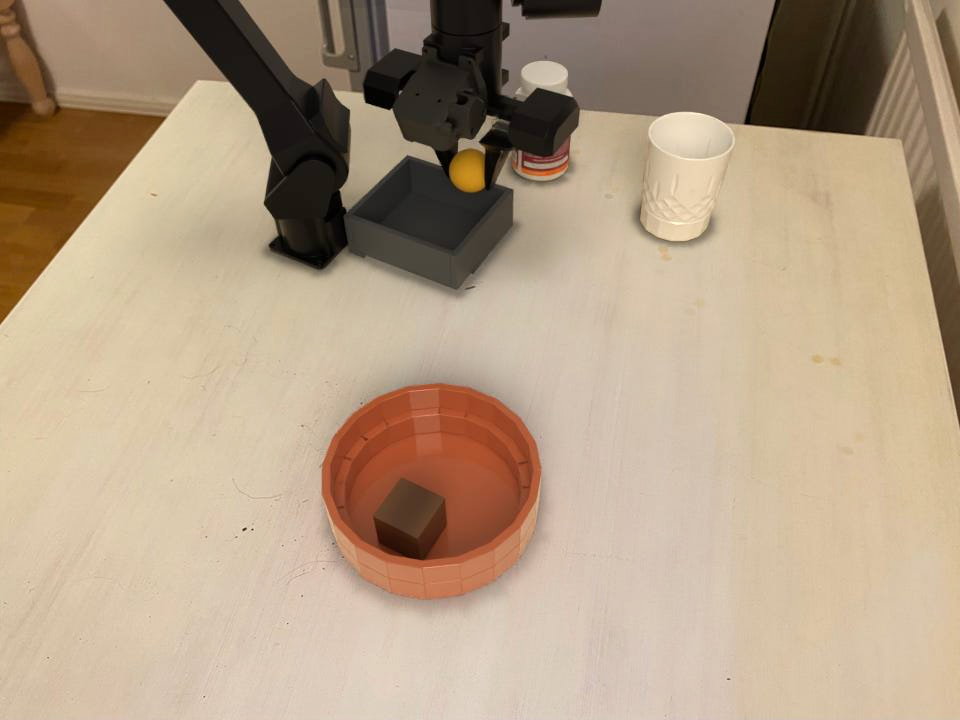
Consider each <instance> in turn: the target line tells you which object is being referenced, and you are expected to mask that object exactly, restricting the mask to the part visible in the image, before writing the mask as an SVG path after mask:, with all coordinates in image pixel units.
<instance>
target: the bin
mask: <svg viewBox="0 0 960 720" xmlns="http://www.w3.org/2000/svg"><path fill="white" fill-rule="evenodd" d="M343 217H344V223H345V229H346V235H347V241H348V245H347V247H348V252H349V253H351V254H353V255H356V256H359V257H361V258H363V259H364V258H366V257H369V258H372V259H374V260H377V261H380V262H382V263H385V264H387V265H390V266H393V267H395V268H398V269H401V270H403V271H405V272H409V273H411V274H414V275H416V276H419V277H422V278H424V279H427V280H429V281H432V282H435V283H436V284H440V285H442V286H444V287H445V286H446V287H447V288H450V289H453V290H455V291H457V290H458V289H459V288H461V286H462V285H463V284H464V282H465V281H466V280H467V279H468V277H470V275H471V274H472V275H474V273H476V271H477V270H478V269H479V267H480V266H481V265H482V264H483V262H484V261H485V260H486V259H487V258H488V256H489V255H490V254H491V253H492V252H493V250H494V249H495V248H496V247H497V246H498V244H499V243H500V242H501V241H502V239H504V237H505V236H506V234H508V232H509V231H510V230H511V229H512V227H514V225H513V224H514V223H513V221H514V189H513V188H510V187H507V186H505V185H501V184H498V183H495V185H494V186H493V187H492V189H491V190H490V191H488V190H486V189H485V188H483V189H482V190H480V191H478V192H474V193H468V192H464V191H461V190H460V189H458V188H457V187H456V186H455V185H454V184H453V182H452V181H451V178H449V177H447V176H446V175H445V172H444V170H443V168H442V166H441V164H440V165H439V164H438V163H437V164H436V163H434V162H431V161H428V160H425V159H422V158H418V157H415V156H412V155H409V154H407V155H405V156H404V157H403V158H402V159H401V160H400V161H399V162H397V164H396V165H395V166H393V168H392V169H391V170H389V172H388V173H386V174H385V175H384V176H383V177H382V178H381V179H380V180H379V181H378V182H377V183H376V184H375V185H374V186H373V187H371V189H370V190H369V191H368V192H366V193H365V194H364V195H363V196H362V197H361V198H360V199H359V200H358V201H357V202H356V203H355V204H354V205H353V206H351V208H349V210H348V211H347V213H346V214H345V215H344V216H343Z"/></svg>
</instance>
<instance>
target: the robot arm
mask: <svg viewBox="0 0 960 720" xmlns="http://www.w3.org/2000/svg"><path fill="white" fill-rule="evenodd" d="M162 1H163V3H164V4H165V5H166V6H167V8H168V9H169V10H170V11H171V13H172V14H173V15H174V16H175V17H176V19H177V20H178V21H179V22H180V24H181V25H182V27H184V28H185V30H186V31H187V32H188V33H189V35H190V36H191V37H192V38H193V39H194V41H195V42H196V43H197V45H198V46H199V47H200V48H201V49H202V51H203V52H204V53H205V54H206V56H208V58H209V59H210V60H211V62H212V63H213V64H214V65H215V67H216V68H217V69H218V71H220V73H221V74H222V75H223V76H224V77H225V79H226V80H227V81H228V83H229V84H230V85H231V86H232V88H233V89H234V90H235V92H237V94H238V95H239V96H240V97H241V98H242V100H243V101H244V102H245V104H246V105H247V106H248V107H249V109H251V111H252V113H254V115H255V117H256V120H257V121H258V124H259V128H260V130H261V132H262V135H263V138H264V141H265V143H266V146H267V149H268V152H269V155H270V156H271V158H270V164H269V169H268V175H267V181H266V188H265V192H264V194H265V195H264V200H263V206H264V207H265V208H266V210H267V212H268V213H269V214H270V215H271V217H272V218H273V220H274V225H275V227H276V232H277V236H276V237H275V238H274V239H273V240H271V241H270V243H269V244H268V249H269V251H270V252H273V253H275V254H277V255H279V256H283V257H286V258H288V259H290V260H293V261H296V262H298V263H300V264H303V265H306V266H308V267H311V268H313V269H316V270H324V268H326V266H328V265H329V264H330V263H331V262H332V261H333V260H334V259H335V258H336V257H337V256H338V255H339V254H340V253H341V252H342V251H343V250H344V249H345V248H346V247H348V241H347V235H346V229H345V223H344V217H343V216H344V215H345V214H346V213H347V212H348V211H347V208H346V206H344V204H343V199H342V192H341V190H340V189H342V188H343V187H344V186H345V184H346V183H347V181H348V179H349V176H350V175H349V174H350V162H351V146H352V127H351V122H350V121H351V109H350V108H348V107H347V106H346V105H344V104H343V103H342V102H341V101H340V100H339V99H338V97H337V96H336V94H335V92H334V90H333V88H332V86H331V84H330V82H329V81H328V80H327V79H326V78H325V77H324V78H323V77H322V78H321V79H320V80H319V81H317V82H316V83H315V84H314V85H313V84H311V83H308V82H307V81H305V80H303V79H301V78H300V77H298V76H297V75H296V74H295V73H293V71H292V70H291V69H290V67H289V66H288V65H287V64H286V61H284V60H283V58H282V56H281V55H280V54H279V52H278V51H277V50H276V48H275V47H274V46H273V45H272V43H271V42H270V40H269V39H268V38H267V37H266V35H265V33H264V32H263V30H262V29H261V28H260V27H259V26H258V24H257V23H256V22H255V20H254V19H253V17H252V16H251V15H250V13H249V12H248V11H247V9H246V8H245V6H244V5H243V4H242V2H241V1H240V0H162ZM602 4H603V0H510V5H511V7H512V8H519V7H520V13H521V17H524V19H525V20H526V21H535V20H536V21H537V20H557V19H558V20H561V19H582V18H597V17H598V16H600V12H601V8H602ZM429 12H430V14H429V15H430V30H431V33H430V34H429V35H427V36H426V37H425V38H423V40H422V46H421V54H418V53H415V52H411V51H408V50H407V51H406V50H404V49H400V48H396V47H394V48H393V49H392V50H391V51H389V52H388V53H387V54H385V55H384V56H383V57H382V58H380V59H379V60H378V61H377V62H376V63H375V64H373V65H372V66H370V67H369V68H368V69H367V70H366V71H365V72H364V74H363V77H362V80H361V88H362V97H363V100H364V101H363V102H364V104H366V105H370V106H373V107H376V108H380V109H383V110H385V111H391V110H392V113H393V116H394V117H395V120H396V123H397V125H398V128H399V130H400V133H401V135H402V138H403V139H404V140H405V141H406V142H410V143H417V144H420V145H424V146H426V147H430V148H432V149H433V151H434V154H435V156H436V158H437V161H438V163H439V164H440V166H442V168H443V170H444V172H445V175H446V176H447V177H449V178H450V175H449V167H450V163H451V161H452V159H453V157H454V156H455V155H456V154H457V153H458V152H459V141H460V140H461V139H465V140H469V141H474V139H476V137H477V136H478V134H479V132H480V130H481V129H482V127H483V125H484V124H485V122H486V119H488V120H490V121H491V122H490V124H491V128H490V129H489V130H488V131H487V132H486V133H485V134H484V135H483V137H481V138H480V139H479V141H478V143H479V145H481V146H482V147H484V154H485V168H484V182H485V189H486V190H488V191H490V190H491V189H492V187H493V186H494V185H495V184H497V181H498V179H499V176H500V175H501V172H502V170H503V168H504V166H505V164H506V162H507V159H508V157H509V155H510V153H511V152H512V151H513V150H514V149H517V150H520V151H523V152H526V153H530V154H533V155H536V156H539V157H543V158H546V157H551V156H553V155H554V154H555V153H556V152H557V151H558V150H559V148H560V147H561V146H562V145H563V144H564V142H565V141H566V140H567V139H568V138H569V136H570V135H571V136H572V134H573V133H574V132H575V131H576V130H577V128H578V127H579V126H580V114H581V108H580V106H579V103H578V101H577V100H576V99H575V97H574V96H573V97H571V96H567V95H564V94H560V93H556V92H553V91H549V90H546V89H542V88H538V87H537V88H536V89H535V90H534V91H533V92H532V93H531V94H530V95H529V96H528V97H527V96H524V95H520V94H515V93H511V94H508V95H507V94H503V93H502V90H503V89H502V88H503V87H504V86H505V85H506V84H507V83H508V82H509V81H510V70H509V69H505V68H503V42H504V41H505V40H506V39H507V38H509V36H510V34H511V33H510V30H511V24H510V23H509V22H506V21H503V0H429Z"/></svg>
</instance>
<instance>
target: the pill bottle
mask: <svg viewBox="0 0 960 720" xmlns="http://www.w3.org/2000/svg"><path fill="white" fill-rule="evenodd" d="M519 81H520V82H519V83H520V87H519V88H517V90H515V93H514V94H520V95H524V96H527V97H528V96H529V95H530V94H531V93H532V92H533V91H534V90H535V89H536V88H537V87H538V88H542V89H546V90H549V91H553V92H556V93H560V94H564V95H567V96H571V97H574V96H573V94H572V92H571V90H570V89H569V88H568V84H569V72H568V69H567V68H566V67H565V66H564V65H562V64H561V63H558V62H555V61H550V60H539V61H538V60H537V61H533V62H530V63H528V64H526V65H524V66H523V67H522V69H521V71H520V79H519ZM571 138H572V134H571V135H570V136H569V138H568V139H567V140H566V141H565V142H564V144H563V145H562V146H561V147H560V148H559V150H558V151H557V152H556V153H555V154H554V155H553V156H551V157H546V158H543V157H539V156H536V155H533V154H530V153H526V152H523V151H520V150H517V149H514V150H513V151H511V165H512V168H513V170H514V171H515V173H517V174H518V175H519V176H521V177H522V178H525V179H527V180H532V181H536V182H540V181H541V182H546V181H547V182H548V181H552V180H555V179H557V178H559V177H561V176H562V175H564V174H565V172H566V171H568V167H569V163H570V162H569V161H570V149H571V140H572V139H571Z"/></svg>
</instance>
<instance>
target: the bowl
mask: <svg viewBox="0 0 960 720" xmlns="http://www.w3.org/2000/svg"><path fill="white" fill-rule="evenodd" d="M542 470H543V469H542V465H541V459H540V455H539V450H538V445H537V441H536V440H535V438H534V436H533V435H532V433H531V432H530V431H529V429H528V427H527V426H526V424H525V422H524V421H523V419H522V418H521V417H520V416H519V415H518V414H516V413H515V412H514V411H513V410H511V409H510V408H509V407H508V406H507V405H505V403H503V402H502V401H501V400H499V399H498V398H496V397H493V396H491V395H489V394H486V393H483V392H481V391H479V390H477V389H475V388H472V387H469V386H463V385H456V384H448V383H442V382H436V383H425V384H415V385H408V386H404V387H401V388H398V389H395V390H392V391H390V392H386V393H383V394H381V395H378V396H376V397H374V398H373V399H371V400H370V401H369V402H367V403H366V404H364V405H362V406H361V407H360V408H358V409H357V410H356V411H354V412H353V413H351V415H350V416H349V417H348V418H347V419H346V420H345V422H344V423H343V424H342V426H341V427H340V428H339V429H338V430H337V431H336V433H335V434H334V435H333V436H332V438H331V441H330V443H329V446H328V448H327V451H326V453H325V456H324V459H323V461H322V464H321V498H322V501H323V504H324V508H325V512H326V514H327V517H328V522H329V525H330V529H331V531H332V534H333V536H334V538H335V541H336V544H337V546H338V549H339V551H340V554H341V556H342V557H343V558H344V559H345V560H346V561H347V562H348V563H349V564H350V565H351V566H352V568H353V569H354V570H355V571H356V572H357V573H358V574H359V575H360V577H362V578H363V579H365V581H367V582H370V583H372V584H374V585H375V586H377V587H379V588H381V589H382V590H384V591H387V592H388V593H391V594H393V595H398V596H405V597H410V598H415V599H421V600H425V601H426V600H433V599H443V598H451V597H460V596H462V595H463V596H464V595H466V594H468V593H470V592H473V591H475V590H477V589H479V588H481V587H484V586H486V585H489V584H491V583H493V582H495V581H496V580H497V579H498V578H499V577H501V576H502V575H503V574H505V572H506V571H508V570H509V569H510V568H511V567H512V566H513V565H514V564H516V563H517V562H518V561H519V559H521V557H522V555H523V553H524V551H525V550H526V548H527V546H528V544H529V542H530V541H531V539H532V537H533V535H534V534H535V530H536V524H537V518H538V512H539V508H540V507H539V506H540V497H541V485H542V473H543V471H542ZM401 477H402V478H404V479H406V480H408V481H410V482H413V483H415V484H417V485H419V486H421V487H423V488H425V489H427V490H429V491H431V492H433V493H435V494H437V495H440V496H442V497H444V498H445V504H446V517H447V525H446V527H445V529H444V530H443V532H442V533H441V535H440V536H439V538H438V539H437V541H436V542H435V544H434V545H433V547H432V548H431V550H430V551H429V553H428V554H427V556H426V557H425V559H424V560H417V559H412V558H408V557H406V556H404V555H402V554H400V553H398V552H397V551H395V550H393V549H391V548H389V547H387V546H385V545H383V544H381V543H379V542H378V538H377V533H376V528H375V523H374V518H373V515H374V514H375V513H376V511H377V510H378V509H379V507H380V506H381V505H382V503H383V502H384V500H385V499H386V498H387V496H388V495H389V494H390V492H391V491H392V489H393V488H394V487H395V485H396V484H397V483H398V481H399V480H400V478H401Z"/></svg>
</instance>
